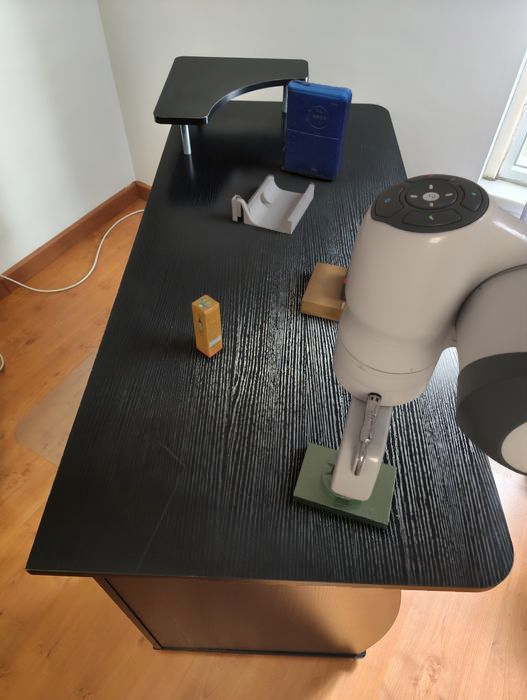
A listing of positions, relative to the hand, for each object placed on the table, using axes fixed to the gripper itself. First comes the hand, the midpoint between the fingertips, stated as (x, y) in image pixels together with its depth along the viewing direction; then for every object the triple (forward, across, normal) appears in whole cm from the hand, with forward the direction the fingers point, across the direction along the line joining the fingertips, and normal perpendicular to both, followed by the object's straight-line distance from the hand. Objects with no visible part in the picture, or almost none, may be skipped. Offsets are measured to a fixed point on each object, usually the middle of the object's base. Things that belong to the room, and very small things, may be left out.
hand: (359, 435), depth 53 cm
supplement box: (+13, +17, +26) cm, 34 cm away
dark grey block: (+10, +35, +7) cm, 37 cm away
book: (+13, +76, +24) cm, 81 cm away
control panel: (+13, +35, +7) cm, 38 cm away
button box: (+13, 0, 0) cm, 13 cm away
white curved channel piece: (+13, +59, +28) cm, 67 cm away
